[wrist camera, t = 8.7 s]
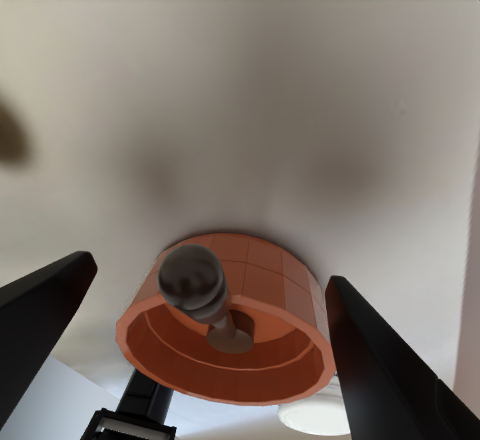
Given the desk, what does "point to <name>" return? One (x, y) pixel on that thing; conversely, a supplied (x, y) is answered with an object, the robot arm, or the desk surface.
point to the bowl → (265, 335)
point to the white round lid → (318, 412)
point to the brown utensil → (205, 297)
